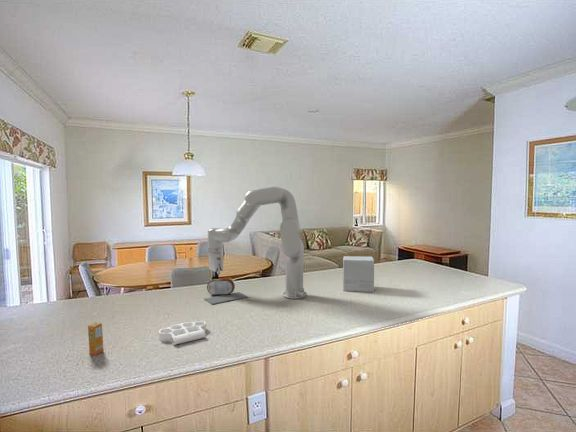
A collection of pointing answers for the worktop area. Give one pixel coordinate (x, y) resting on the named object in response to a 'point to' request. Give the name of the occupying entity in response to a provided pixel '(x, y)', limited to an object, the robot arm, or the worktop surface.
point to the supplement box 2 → (358, 273)
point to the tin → (220, 286)
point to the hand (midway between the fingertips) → (215, 282)
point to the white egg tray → (183, 332)
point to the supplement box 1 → (95, 338)
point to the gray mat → (225, 298)
